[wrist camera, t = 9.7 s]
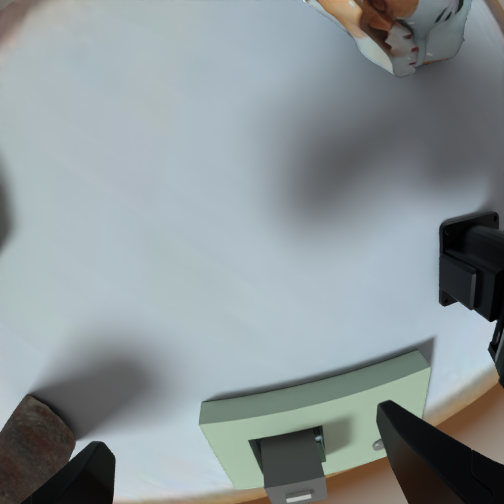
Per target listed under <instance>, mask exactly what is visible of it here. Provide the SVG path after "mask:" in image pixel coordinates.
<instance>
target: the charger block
mask: <svg viewBox="0 0 504 504" xmlns="http://www.w3.org/2000/svg"><path fill="white" fill-rule="evenodd" d="M260 441H261V453H262V465H263V477H264V488H265V490H266V493H267V495H268V497H269V498H270V500H271V502H272V504H305V503H310V502H315V501H319V500H323V499H327V491H326V481H325V475H324V471H323V467H322V463H321V459H320V455H319V451H318V448H317V444H316V440H315V436H314V432H313V428H308V429H304V430H299V431H295V432H290V433H285V434H280V435H275V436H269V437H263V438H260Z"/></svg>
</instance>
